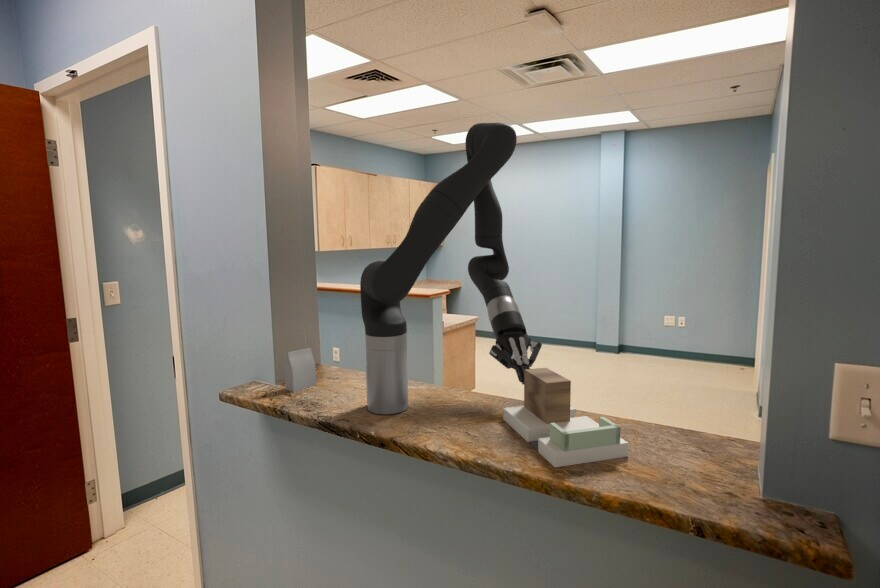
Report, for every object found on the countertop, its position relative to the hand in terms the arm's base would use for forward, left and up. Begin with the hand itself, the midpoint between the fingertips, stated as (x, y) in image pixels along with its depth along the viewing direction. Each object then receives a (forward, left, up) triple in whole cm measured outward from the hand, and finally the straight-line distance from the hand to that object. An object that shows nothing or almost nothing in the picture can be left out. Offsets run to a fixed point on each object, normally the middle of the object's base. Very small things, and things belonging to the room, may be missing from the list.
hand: (527, 382), depth 102 cm
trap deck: (+13, -5, -6) cm, 16 cm away
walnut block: (+8, -3, -4) cm, 10 cm away
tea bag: (-47, -35, -7) cm, 59 cm away
